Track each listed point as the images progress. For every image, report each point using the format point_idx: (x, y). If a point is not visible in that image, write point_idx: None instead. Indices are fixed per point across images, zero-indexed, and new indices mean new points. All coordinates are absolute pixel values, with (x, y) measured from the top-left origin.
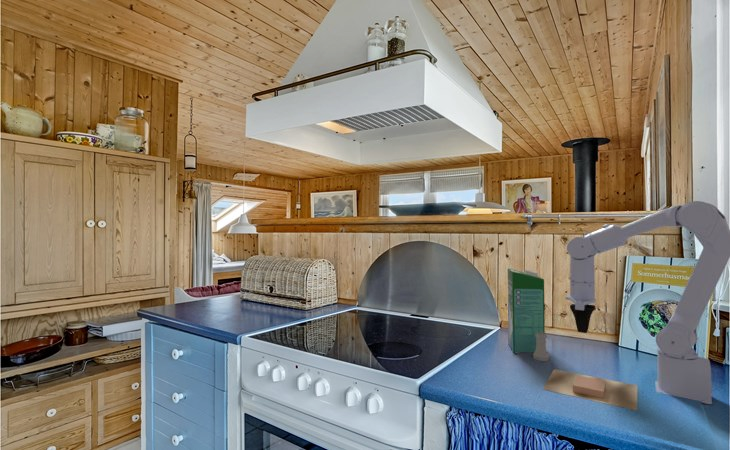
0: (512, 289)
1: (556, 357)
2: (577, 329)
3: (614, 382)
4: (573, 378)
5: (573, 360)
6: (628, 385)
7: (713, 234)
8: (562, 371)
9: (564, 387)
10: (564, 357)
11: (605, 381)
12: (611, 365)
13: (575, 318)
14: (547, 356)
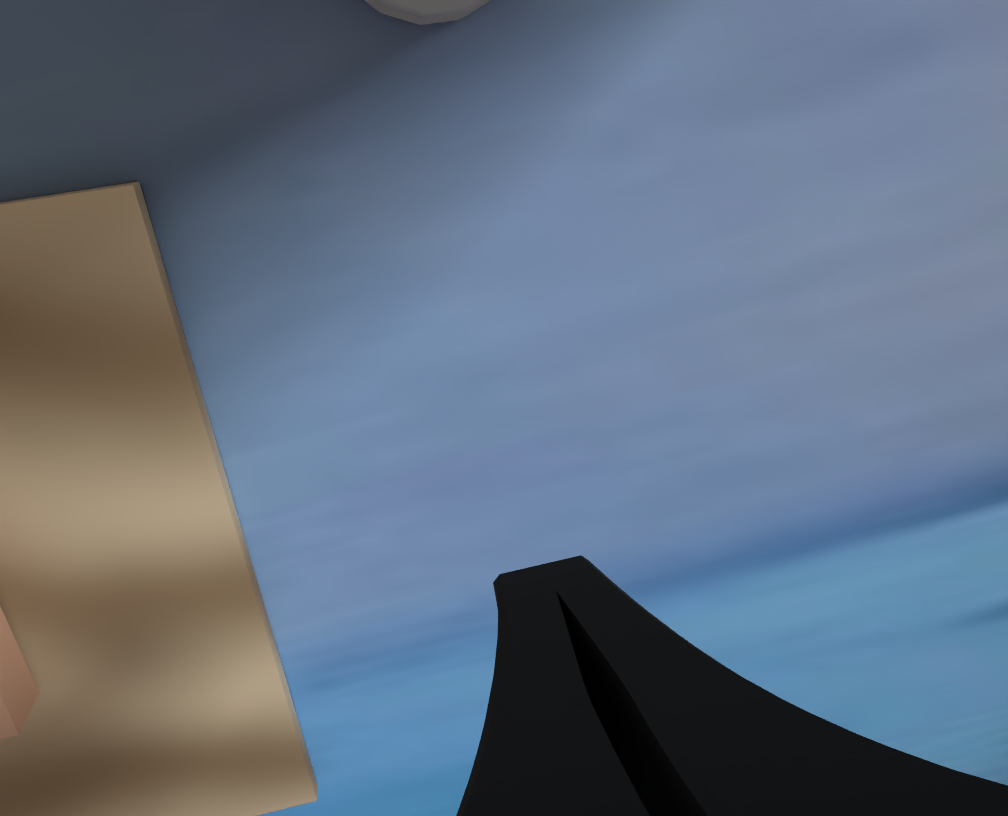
0: None
1: (667, 39)
2: (500, 594)
3: (237, 692)
4: (17, 437)
5: (676, 229)
6: (259, 767)
7: None
8: (136, 285)
9: None
10: (723, 118)
11: (2, 737)
12: (737, 526)
13: (476, 767)
14: (401, 3)
